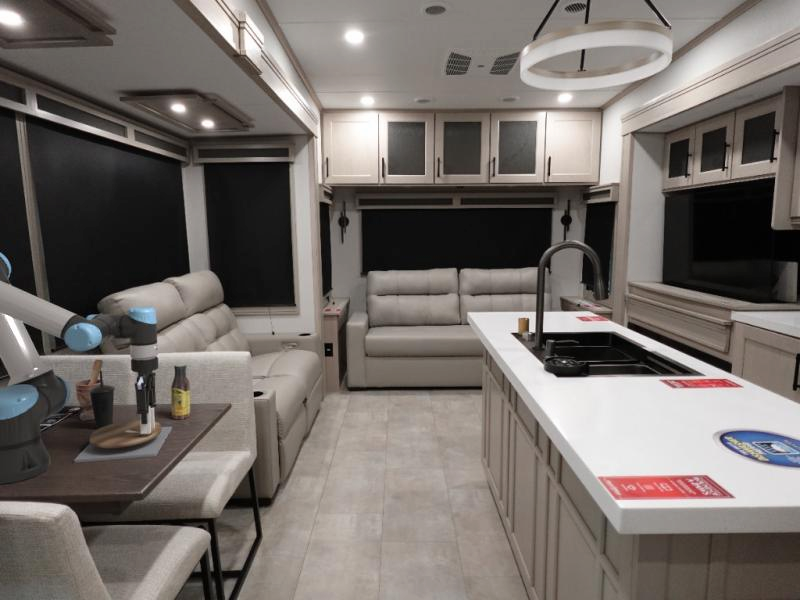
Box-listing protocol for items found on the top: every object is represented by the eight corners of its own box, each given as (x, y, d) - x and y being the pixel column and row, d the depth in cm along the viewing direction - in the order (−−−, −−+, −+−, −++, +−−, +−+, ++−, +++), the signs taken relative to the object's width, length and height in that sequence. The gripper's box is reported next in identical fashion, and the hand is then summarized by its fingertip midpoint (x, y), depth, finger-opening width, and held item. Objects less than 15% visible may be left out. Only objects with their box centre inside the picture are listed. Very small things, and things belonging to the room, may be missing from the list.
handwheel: (74, 449, 152) (71, 410, 151) (128, 425, 171) (125, 391, 170) (125, 458, 146) (123, 418, 145) (175, 433, 165) (173, 397, 164)
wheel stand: (74, 462, 146) (74, 459, 146) (101, 433, 167) (101, 431, 167) (155, 456, 151) (155, 453, 151) (171, 428, 172) (171, 426, 172)
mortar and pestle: (82, 411, 187) (78, 359, 185) (109, 409, 191) (105, 357, 188) (75, 422, 177) (71, 367, 174) (103, 419, 180) (100, 365, 177)
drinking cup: (122, 423, 176) (118, 368, 174) (107, 431, 169) (103, 374, 166) (101, 422, 177) (98, 367, 174) (86, 430, 169) (82, 373, 167)
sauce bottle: (168, 418, 182) (165, 365, 179) (182, 413, 187) (180, 361, 185) (180, 421, 179) (177, 367, 176) (194, 416, 184) (192, 363, 182)
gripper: (150, 363, 146) (153, 440, 149) (164, 351, 163) (167, 420, 165) (122, 364, 145) (126, 441, 147) (139, 352, 161) (142, 422, 164)
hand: (147, 430), depth 156 cm, fingers open, 4 cm apart
